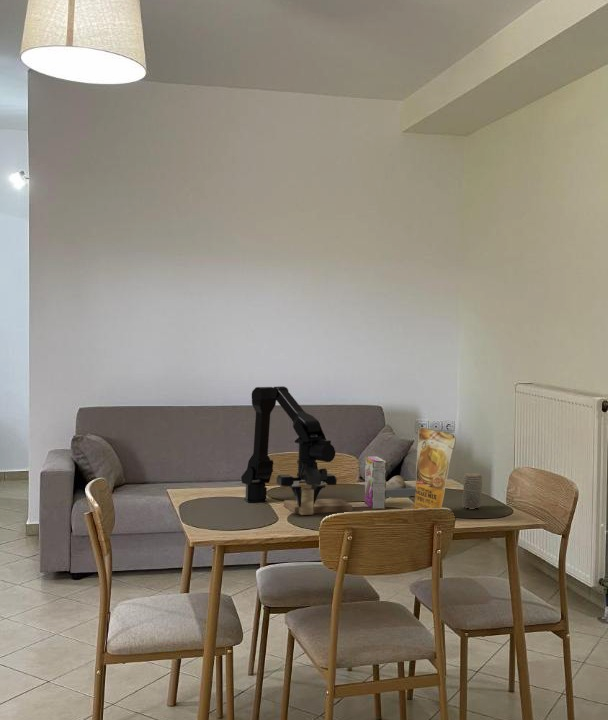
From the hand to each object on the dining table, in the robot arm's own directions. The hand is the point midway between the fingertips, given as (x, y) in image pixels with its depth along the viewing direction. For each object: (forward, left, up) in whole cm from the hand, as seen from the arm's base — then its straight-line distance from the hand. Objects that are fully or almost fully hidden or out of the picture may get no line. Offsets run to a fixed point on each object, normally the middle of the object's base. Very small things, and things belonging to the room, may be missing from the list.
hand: (305, 506), depth 269 cm
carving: (+60, -1, -3) cm, 60 cm away
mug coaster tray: (+44, +29, -3) cm, 53 cm away
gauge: (0, +3, -2) cm, 4 cm away
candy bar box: (+28, +9, -3) cm, 30 cm away
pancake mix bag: (+40, -9, -3) cm, 41 cm away
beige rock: (+43, +27, -3) cm, 51 cm away
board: (+7, +8, -3) cm, 11 cm away
